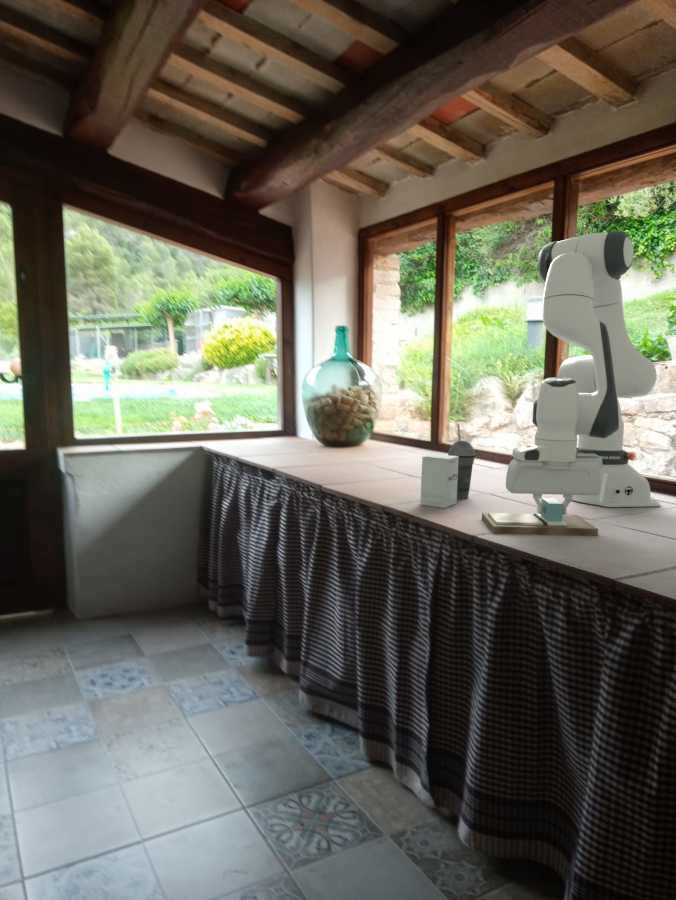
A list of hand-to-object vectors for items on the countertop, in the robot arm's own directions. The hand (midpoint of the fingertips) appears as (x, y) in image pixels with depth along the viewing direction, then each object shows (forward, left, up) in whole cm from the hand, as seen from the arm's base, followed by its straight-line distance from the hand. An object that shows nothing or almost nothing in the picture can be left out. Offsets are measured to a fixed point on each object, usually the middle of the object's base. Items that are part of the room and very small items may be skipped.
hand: (551, 513), depth 143 cm
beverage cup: (+15, -32, -3) cm, 36 cm away
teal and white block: (0, 0, -2) cm, 2 cm away
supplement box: (+22, -22, -3) cm, 32 cm away
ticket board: (+4, 0, -3) cm, 5 cm away
